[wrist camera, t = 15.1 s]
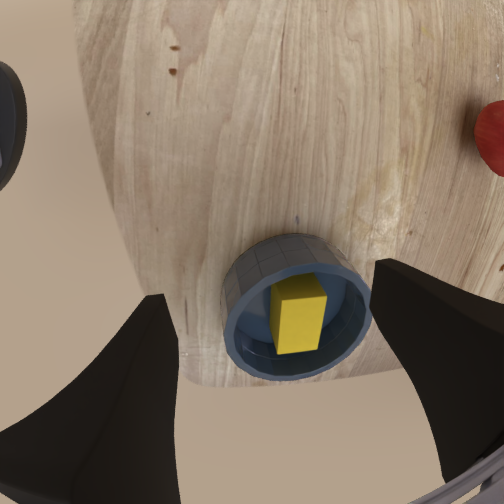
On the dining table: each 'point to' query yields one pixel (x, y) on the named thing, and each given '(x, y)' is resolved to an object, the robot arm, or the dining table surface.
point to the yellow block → (297, 313)
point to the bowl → (259, 297)
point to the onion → (491, 136)
